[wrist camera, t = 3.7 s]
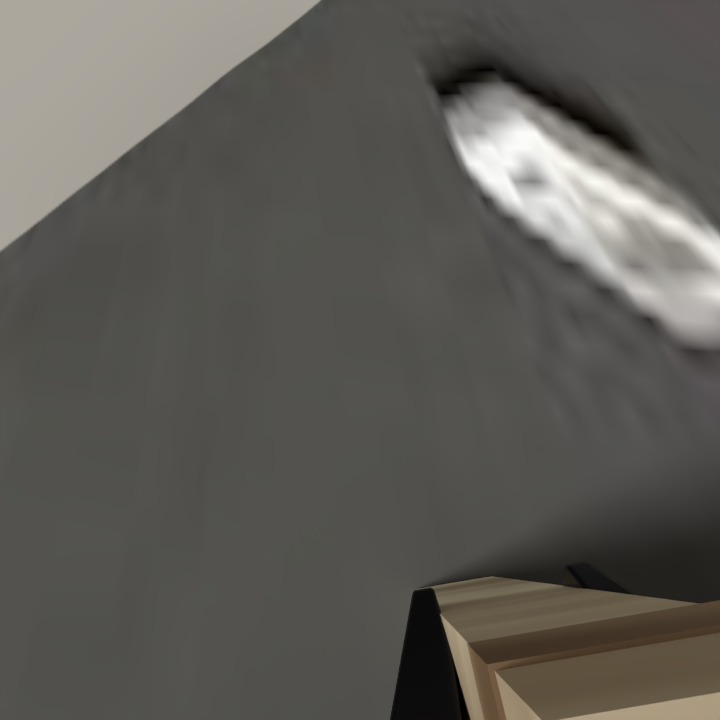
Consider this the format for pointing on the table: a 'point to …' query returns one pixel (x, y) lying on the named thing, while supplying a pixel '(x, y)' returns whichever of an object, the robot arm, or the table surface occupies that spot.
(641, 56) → the table surface
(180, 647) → the table surface
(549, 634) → the tall beige post
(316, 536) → the table surface
